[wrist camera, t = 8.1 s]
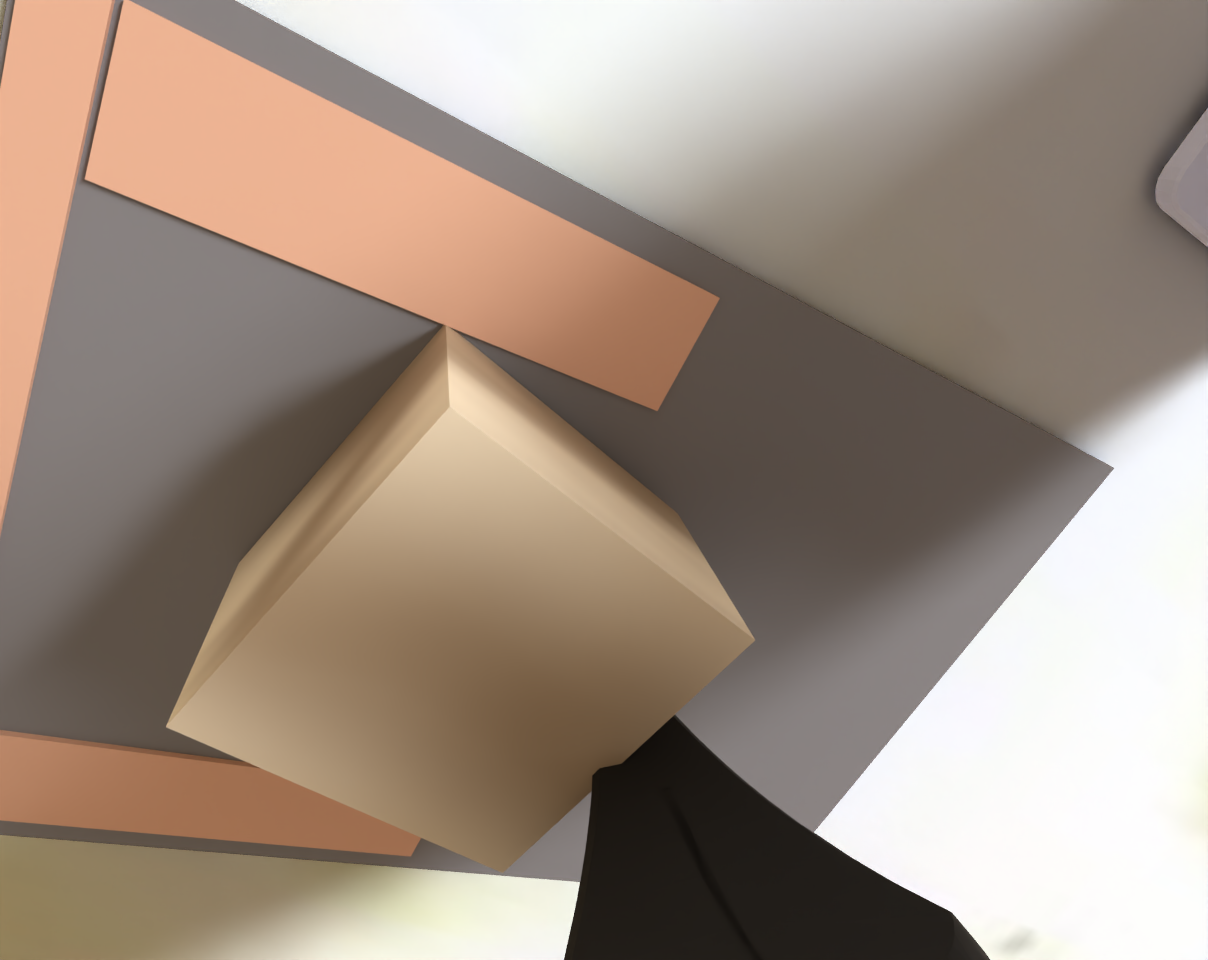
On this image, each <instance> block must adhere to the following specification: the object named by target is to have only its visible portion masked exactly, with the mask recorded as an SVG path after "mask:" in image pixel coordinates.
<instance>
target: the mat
mask: <svg viewBox="0 0 1208 960" xmlns="http://www.w3.org/2000/svg"><path fill="white" fill-rule="evenodd" d="M443 325H447V326H448V327H451V328H453V329H454V330H455V331H457V332H458V333H459V334H460V335H462V336H463V337H464V338H465V339H466V340H468V341H469V342H470V343H471V344H473V345H474V346H475V347H476V348H477V349H479V350H480V351H481V352H482V353H483V354H485V355H486V356H487V357H488V358H490V359H491V360H492V361H493V362H494V363H496V364H497V365H498V366H499V367H500V368H502V369H503V370H504V371H505V372H507V373H508V374H509V375H510V376H511V377H513V378H514V379H515V380H516V381H517V382H519V383H520V384H521V385H522V386H524V387H525V388H526V389H527V390H528V391H530V392H531V393H532V394H533V395H534V396H536V397H537V398H538V399H539V400H541V401H542V402H543V403H544V404H545V405H547V406H548V407H549V408H550V409H551V410H553V411H554V412H555V413H556V414H558V415H559V416H560V417H561V418H562V419H564V420H565V421H566V422H567V423H568V424H570V425H571V426H572V427H573V428H575V429H576V430H577V431H578V432H579V433H581V434H582V435H583V436H584V437H585V438H587V439H588V440H589V441H590V442H592V443H593V444H594V445H595V446H596V447H598V448H599V449H600V450H601V451H602V452H604V453H605V454H606V455H607V456H609V457H610V458H611V459H612V460H613V461H615V462H616V463H617V464H618V465H619V466H621V467H622V468H623V469H624V470H626V471H627V472H628V473H629V474H630V475H632V476H633V477H634V478H635V479H636V480H638V481H639V482H640V483H641V484H643V485H644V486H645V487H646V488H647V489H649V490H650V491H651V492H652V493H653V494H655V495H656V496H657V497H658V498H660V499H661V500H662V501H663V502H664V503H666V504H667V505H668V506H669V507H670V508H672V509H673V510H674V511H675V512H677V513H678V515H679V516H680V518H681V520H682V521H683V523H684V525H685V526H686V528H687V529H688V531H689V533H690V534H691V536H692V538H693V539H694V541H695V542H696V544H697V546H698V547H699V549H700V551H701V552H702V554H703V555H704V557H705V559H706V560H707V562H708V564H709V565H710V567H711V569H712V570H713V572H714V573H715V575H716V577H717V578H718V580H719V582H720V583H721V585H722V586H723V588H724V590H725V591H726V593H727V595H728V596H729V598H730V599H731V601H732V603H733V604H734V606H735V608H736V609H737V611H738V612H739V614H740V616H741V617H742V619H743V621H744V622H745V624H746V625H747V627H748V629H749V630H750V632H751V634H752V635H753V637H754V639H755V641H754V642H753V643H752V644H751V645H750V646H749V647H747V648H746V649H745V650H744V651H743V652H742V653H741V654H740V655H739V656H738V657H737V658H736V659H734V660H733V661H732V662H731V663H730V664H729V665H728V666H727V667H726V668H725V669H724V670H722V671H721V672H720V673H719V674H718V675H717V676H716V677H715V678H714V679H713V680H712V681H711V682H709V683H708V684H707V685H706V686H705V687H704V688H703V689H702V690H701V691H700V692H699V693H698V694H696V695H695V696H694V697H693V698H692V699H691V700H690V701H689V702H688V703H687V704H686V705H685V706H683V707H682V708H681V709H680V710H679V711H678V712H677V713H676V714H675V715H676V716H677V717H678V718H679V719H680V720H681V721H682V722H683V723H684V724H685V725H686V726H687V727H688V728H689V729H690V731H691V732H692V733H693V734H694V735H695V736H696V737H697V738H698V739H699V740H700V741H702V742H703V743H704V744H705V745H706V746H707V747H708V748H709V749H710V750H711V751H712V752H713V753H714V754H715V755H716V756H717V757H718V758H720V759H721V760H722V761H723V762H724V763H725V764H726V765H727V766H728V767H729V768H731V769H732V770H733V771H734V772H735V773H736V774H737V775H739V776H740V777H741V778H742V779H743V780H744V781H746V782H747V783H748V784H749V785H750V786H752V787H753V788H754V789H755V790H757V791H758V792H759V793H760V794H762V795H763V796H764V797H765V798H767V799H768V800H769V801H770V802H772V803H773V804H774V805H776V806H777V807H778V808H780V809H781V810H782V811H784V812H785V813H786V814H788V815H789V816H790V817H792V818H793V819H794V820H796V821H797V822H799V823H800V824H801V825H803V826H805V827H806V828H808V829H809V830H811V831H812V832H814V831H815V830H816V829H817V828H818V826H819V825H820V824H821V823H822V822H823V820H824V819H825V818H826V817H827V816H828V814H829V813H830V812H831V811H832V810H833V808H834V807H835V806H836V805H837V803H838V802H839V801H840V800H841V799H842V797H843V796H844V795H845V794H846V793H847V791H848V790H849V789H850V788H851V787H852V785H853V784H854V783H855V782H856V780H857V779H858V778H859V777H860V776H861V774H862V773H863V772H864V771H865V770H866V768H867V767H868V766H869V765H870V763H871V762H872V761H873V760H874V759H875V757H876V756H877V755H878V754H879V753H880V751H881V750H882V749H883V748H884V747H885V745H886V744H887V743H888V742H889V740H890V739H891V738H892V737H893V736H894V734H895V733H896V732H897V731H898V730H899V728H900V727H901V726H902V725H903V723H904V722H905V721H906V720H907V719H908V717H909V716H910V715H911V714H912V713H913V711H914V710H915V709H916V708H917V707H918V705H919V704H920V703H921V702H922V700H923V699H924V698H925V697H926V696H927V694H928V693H929V692H930V691H931V690H932V688H933V687H934V686H935V685H936V683H937V682H938V681H939V680H940V679H941V677H942V676H943V675H944V674H945V673H946V671H947V670H948V669H949V668H950V667H951V665H952V664H953V663H954V662H955V660H956V659H957V658H958V657H959V656H960V654H961V653H962V652H963V651H964V650H965V648H966V647H967V646H968V645H969V643H970V642H971V641H972V640H973V639H974V637H975V636H976V635H977V634H978V633H979V631H980V630H981V629H982V628H983V627H984V625H985V624H986V623H987V622H988V620H989V619H990V618H991V617H992V616H993V614H994V613H995V612H996V611H997V610H998V608H999V607H1000V606H1001V605H1002V603H1003V602H1004V601H1005V600H1006V599H1007V597H1008V596H1009V595H1010V594H1011V593H1012V591H1013V590H1014V589H1015V588H1016V587H1017V585H1018V584H1019V583H1020V582H1021V580H1022V579H1023V578H1024V577H1025V576H1026V574H1027V573H1028V572H1029V571H1030V570H1031V568H1032V567H1033V566H1034V565H1035V563H1036V562H1037V561H1038V560H1039V559H1040V557H1041V556H1042V555H1043V554H1044V553H1045V551H1046V550H1047V549H1048V548H1049V547H1050V545H1051V544H1052V543H1053V542H1054V540H1055V539H1056V538H1057V537H1058V536H1059V534H1060V533H1061V532H1062V531H1063V530H1064V528H1065V527H1066V526H1067V525H1068V524H1069V522H1070V521H1071V520H1072V519H1073V517H1074V516H1075V515H1076V514H1077V513H1078V511H1079V510H1080V509H1081V508H1082V507H1083V505H1084V504H1085V503H1086V502H1087V500H1088V499H1089V498H1090V497H1091V496H1092V494H1093V493H1094V492H1095V491H1096V490H1097V488H1098V487H1099V486H1100V485H1101V484H1102V482H1103V481H1104V480H1105V479H1106V477H1107V476H1108V475H1109V474H1110V473H1111V471H1112V470H1113V469H1114V468H1113V467H1111V466H1109V465H1108V464H1106V463H1104V462H1102V461H1100V460H1098V459H1096V458H1095V457H1093V456H1091V455H1089V454H1087V453H1085V452H1083V451H1081V450H1080V449H1078V448H1076V447H1074V446H1072V445H1070V444H1068V443H1066V442H1064V441H1063V440H1061V439H1059V438H1057V437H1055V436H1053V435H1051V434H1049V433H1048V432H1046V431H1044V430H1042V429H1040V428H1038V427H1036V426H1034V425H1032V424H1031V423H1029V422H1027V421H1025V420H1023V419H1021V418H1019V417H1017V416H1016V415H1014V414H1012V413H1010V412H1008V411H1006V410H1004V409H1002V408H1001V407H999V406H997V405H995V404H993V403H991V402H989V401H987V400H985V399H984V398H982V397H980V396H978V395H976V394H974V393H972V392H970V391H969V390H967V389H965V388H963V387H961V386H959V385H957V384H955V383H953V382H952V381H950V380H948V379H946V378H944V377H942V376H940V375H938V374H937V373H935V372H933V371H931V370H929V369H927V368H925V367H923V366H921V365H920V364H918V363H916V362H914V361H912V360H910V359H908V358H906V357H905V356H903V355H901V354H899V353H897V352H895V351H893V350H891V349H890V348H888V347H886V346H884V345H882V344H880V343H878V342H876V341H874V340H873V339H871V338H869V337H867V336H865V335H863V334H861V333H859V332H858V331H856V330H854V329H852V328H850V327H848V326H846V325H844V324H842V323H841V322H839V321H837V320H835V319H833V318H831V317H829V316H827V315H826V314H824V313H822V312H820V311H818V310H816V309H814V308H812V307H811V306H809V305H807V304H805V303H803V302H801V301H799V300H797V299H795V298H794V297H792V296H790V295H788V294H786V293H784V292H782V291H780V290H779V289H777V288H775V287H773V286H771V285H769V284H767V283H765V282H763V281H762V280H760V279H758V278H756V277H754V276H752V275H750V274H748V273H747V272H745V271H743V270H741V269H739V268H737V267H735V266H733V265H732V264H730V263H728V262H726V261H724V260H722V259H720V258H718V257H716V256H715V255H713V254H711V253H709V252H707V251H705V250H703V249H701V248H700V247H698V246H696V245H694V244H692V243H690V242H688V241H686V240H684V239H683V238H681V237H679V236H677V235H675V234H673V233H671V232H669V231H668V230H666V229H664V228H662V227H660V226H658V225H656V224H654V223H653V222H651V221H649V220H647V219H645V218H643V217H641V216H639V215H637V214H636V213H634V212H632V211H630V210H628V209H626V208H624V207H622V206H621V205H619V204H617V203H615V202H613V201H611V200H609V199H607V198H605V197H604V196H602V195H600V194H598V193H596V192H594V191H592V190H590V189H589V188H587V187H585V186H583V185H581V184H579V183H577V182H575V181H573V180H572V179H570V178H568V177H566V176H564V175H562V174H560V173H558V172H557V171H555V170H553V169H551V168H549V167H547V166H545V165H543V164H542V163H540V162H538V161H536V160H534V159H532V158H530V157H528V156H526V155H525V154H523V153H521V152H519V151H517V150H515V149H513V148H511V147H510V146H508V145H506V144H504V143H502V142H500V141H498V140H496V139H494V138H493V137H491V136H489V135H487V134H485V133H483V132H481V131H479V130H478V129H476V128H474V127H472V126H470V125H468V124H466V123H464V122H463V121H461V120H459V119H457V118H455V117H453V116H451V115H449V114H447V113H446V112H444V111H442V110H440V109H438V108H436V107H434V106H432V105H431V104H429V103H427V102H425V101H423V100H421V99H419V98H417V97H415V96H414V95H412V94H410V93H408V92H406V91H404V90H402V89H400V88H399V87H397V86H395V85H393V84H391V83H389V82H387V81H385V80H384V79H382V78H380V77H378V76H376V75H374V74H372V73H370V72H368V71H367V70H365V69H363V68H361V67H359V66H357V65H355V64H353V63H352V62H350V61H348V60H346V59H344V58H342V57H340V56H338V55H336V54H335V53H333V52H331V51H329V50H327V49H325V48H323V47H321V46H320V45H318V44H316V43H314V42H312V41H310V40H308V39H306V38H305V37H303V36H301V35H299V34H297V33H295V32H293V31H291V30H289V29H288V28H286V27H284V26H282V25H280V24H278V23H276V22H274V21H273V20H271V19H269V18H267V17H265V16H263V15H261V14H259V13H257V12H256V11H254V10H252V9H250V8H248V7H246V6H244V5H242V4H241V3H239V2H237V1H235V0H7V4H6V10H5V16H4V22H3V28H2V34H1V40H0V835H10V836H22V837H34V838H47V839H59V840H71V841H84V842H96V843H108V844H120V845H133V846H145V847H157V848H170V849H182V850H194V851H207V852H219V853H231V854H243V855H256V856H268V857H280V858H293V859H305V860H317V861H330V862H342V863H354V864H366V865H379V866H391V867H403V868H416V869H428V870H440V871H453V872H465V873H477V874H489V875H502V876H514V877H526V878H539V879H551V880H563V881H576V882H580V880H581V874H582V867H583V861H584V855H585V848H586V841H587V833H588V825H589V815H590V805H591V793H592V791H591V792H590V793H589V794H588V795H587V796H586V797H585V798H584V799H583V800H581V801H580V802H579V803H578V804H577V805H576V806H575V807H574V808H573V809H572V810H571V811H570V812H568V813H567V814H566V815H565V816H564V817H563V818H562V819H561V820H560V821H559V822H558V823H557V824H555V825H554V826H553V827H552V828H551V829H550V830H549V831H548V832H547V833H546V834H545V835H544V836H542V837H541V838H540V839H539V840H538V841H537V842H536V843H535V844H534V845H533V846H532V847H530V848H529V849H528V850H527V851H526V852H525V853H524V854H523V855H522V856H521V857H520V858H519V859H517V860H516V861H515V862H514V863H513V864H512V865H511V866H510V867H509V868H508V869H507V870H506V871H504V872H503V873H501V872H499V871H497V870H494V869H492V868H490V867H487V866H485V865H483V864H480V863H478V862H476V861H474V860H471V859H469V858H467V857H464V856H462V855H460V854H457V853H455V852H453V851H450V850H448V849H446V848H444V847H441V846H439V845H437V844H434V843H432V842H430V841H427V840H425V839H423V838H421V837H418V836H416V835H414V834H411V833H409V832H407V831H404V830H402V829H400V828H397V827H395V826H393V825H391V824H388V823H386V822H384V821H381V820H379V819H377V818H374V817H372V816H370V815H367V814H365V813H363V812H361V811H358V810H356V809H354V808H351V807H349V806H347V805H344V804H342V803H340V802H338V801H335V800H333V799H331V798H328V797H326V796H324V795H321V794H319V793H317V792H314V791H312V790H310V789H308V788H305V787H303V786H301V785H298V784H296V783H294V782H291V781H289V780H287V779H284V778H282V777H280V776H278V775H275V774H273V773H271V772H268V771H266V770H264V769H261V768H259V767H257V766H254V765H252V764H250V763H248V762H245V761H243V760H241V759H238V758H236V757H234V756H231V755H229V754H227V753H225V752H222V751H220V750H218V749H215V748H213V747H211V746H208V745H206V744H204V743H201V742H199V741H197V740H195V739H192V738H190V737H188V736H185V735H183V734H181V733H178V732H176V731H174V730H171V729H169V728H167V727H166V725H167V723H168V721H169V718H170V716H171V714H172V712H173V709H174V707H175V705H176V703H177V700H178V698H179V696H180V694H181V691H182V689H183V687H184V685H185V683H186V680H187V678H188V676H189V674H190V671H191V669H192V667H193V665H194V662H195V660H196V658H197V656H198V653H199V651H200V649H201V647H202V644H203V642H204V640H205V638H206V635H207V633H208V631H209V629H210V626H211V624H212V622H213V620H214V617H215V615H216V613H217V611H218V608H219V606H220V604H221V602H222V599H223V597H224V595H225V593H226V590H227V588H228V586H229V584H230V581H231V579H232V577H233V575H234V573H235V570H236V568H237V566H238V564H239V562H240V561H241V560H242V559H243V558H244V556H245V555H246V554H247V553H248V552H249V551H250V549H251V548H252V547H253V546H254V545H255V544H256V542H257V541H258V540H259V539H260V538H261V537H262V535H263V534H264V533H265V532H266V531H267V530H268V529H269V527H270V526H271V525H272V524H273V523H274V522H275V520H276V519H277V518H278V517H279V516H280V515H281V513H282V512H283V511H284V510H285V509H286V508H287V506H288V505H289V504H290V503H291V502H292V501H293V499H294V498H295V497H296V496H297V495H298V494H299V492H300V491H301V490H302V489H303V488H304V487H305V485H306V484H307V483H308V482H309V481H310V480H311V478H312V477H313V476H314V475H315V474H316V473H317V472H318V470H319V469H320V468H321V467H322V466H323V465H324V463H325V462H326V461H327V460H328V459H329V458H330V456H331V455H332V454H333V453H334V452H335V451H336V449H337V448H338V447H339V446H340V445H341V444H342V442H343V441H344V440H345V439H346V438H347V437H348V435H349V434H350V433H351V432H352V431H353V430H354V428H355V427H356V426H357V425H358V424H359V423H360V421H361V420H362V419H363V418H364V417H365V416H366V415H367V413H368V412H369V411H370V410H371V409H372V408H373V406H374V405H375V404H376V403H377V402H378V401H379V399H380V398H381V397H382V396H383V395H384V394H385V392H386V391H387V390H388V389H389V388H390V387H391V386H392V384H393V383H394V382H395V381H396V380H397V379H398V377H399V376H400V375H401V374H402V373H403V372H404V370H405V369H406V368H407V367H408V366H409V365H410V364H411V362H412V361H413V360H414V359H415V358H416V357H417V355H418V354H419V353H420V352H421V351H422V350H423V348H424V347H425V346H426V345H427V344H428V343H429V342H430V340H431V339H432V338H433V337H434V336H435V335H436V333H437V332H438V331H439V330H440V329H441V328H442V326H443Z"/></svg>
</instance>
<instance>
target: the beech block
mask: <svg viewBox="0 0 1208 960" xmlns="http://www.w3.org/2000/svg"><path fill="white" fill-rule="evenodd" d="M754 641H755V639H754V637H753V635H752V634H751V632H750V630H749V629H748V627H747V625H746V624H745V622H744V621H743V619H742V617H741V616H740V614H739V612H738V611H737V609H736V608H735V606H734V604H733V603H732V601H731V599H730V598H729V596H728V595H727V593H726V591H725V590H724V588H723V586H722V585H721V583H720V582H719V580H718V578H717V577H716V575H715V573H714V572H713V570H712V569H711V567H710V565H709V564H708V562H707V560H706V559H705V557H704V555H703V554H702V552H701V551H700V549H699V547H698V546H697V544H696V542H695V541H694V539H693V538H692V536H691V534H690V533H689V531H688V529H687V528H686V526H685V525H684V523H683V521H682V520H681V518H680V516H679V515H678V513H677V512H675V511H674V510H673V509H672V508H670V507H669V506H668V505H667V504H666V503H664V502H663V501H662V500H661V499H660V498H658V497H657V496H656V495H655V494H653V493H652V492H651V491H650V490H649V489H647V488H646V487H645V486H644V485H643V484H641V483H640V482H639V481H638V480H636V479H635V478H634V477H633V476H632V475H630V474H629V473H628V472H627V471H626V470H624V469H623V468H622V467H621V466H619V465H618V464H617V463H616V462H615V461H613V460H612V459H611V458H610V457H609V456H607V455H606V454H605V453H604V452H602V451H601V450H600V449H599V448H598V447H596V446H595V445H594V444H593V443H592V442H590V441H589V440H588V439H587V438H585V437H584V436H583V435H582V434H581V433H579V432H578V431H577V430H576V429H575V428H573V427H572V426H571V425H570V424H568V423H567V422H566V421H565V420H564V419H562V418H561V417H560V416H559V415H558V414H556V413H555V412H554V411H553V410H551V409H550V408H549V407H548V406H547V405H545V404H544V403H543V402H542V401H541V400H539V399H538V398H537V397H536V396H534V395H533V394H532V393H531V392H530V391H528V390H527V389H526V388H525V387H524V386H522V385H521V384H520V383H519V382H517V381H516V380H515V379H514V378H513V377H511V376H510V375H509V374H508V373H507V372H505V371H504V370H503V369H502V368H500V367H499V366H498V365H497V364H496V363H494V362H493V361H492V360H491V359H490V358H488V357H487V356H486V355H485V354H483V353H482V352H481V351H480V350H479V349H477V348H476V347H475V346H474V345H473V344H471V343H470V342H469V341H468V340H466V339H465V338H464V337H463V336H462V335H460V334H459V333H458V332H457V331H455V330H454V329H453V328H451V327H448V326H447V325H443V326H442V328H441V329H440V330H439V331H438V332H437V333H436V335H435V336H434V337H433V338H432V339H431V340H430V342H429V343H428V344H427V345H426V346H425V347H424V348H423V350H422V351H421V352H420V353H419V354H418V355H417V357H416V358H415V359H414V360H413V361H412V362H411V364H410V365H409V366H408V367H407V368H406V369H405V370H404V372H403V373H402V374H401V375H400V376H399V377H398V379H397V380H396V381H395V382H394V383H393V384H392V386H391V387H390V388H389V389H388V390H387V391H386V392H385V394H384V395H383V396H382V397H381V398H380V399H379V401H378V402H377V403H376V404H375V405H374V406H373V408H372V409H371V410H370V411H369V412H368V413H367V415H366V416H365V417H364V418H363V419H362V420H361V421H360V423H359V424H358V425H357V426H356V427H355V428H354V430H353V431H352V432H351V433H350V434H349V435H348V437H347V438H346V439H345V440H344V441H343V442H342V444H341V445H340V446H339V447H338V448H337V449H336V451H335V452H334V453H333V454H332V455H331V456H330V458H329V459H328V460H327V461H326V462H325V463H324V465H323V466H322V467H321V468H320V469H319V470H318V472H317V473H316V474H315V475H314V476H313V477H312V478H311V480H310V481H309V482H308V483H307V484H306V485H305V487H304V488H303V489H302V490H301V491H300V492H299V494H298V495H297V496H296V497H295V498H294V499H293V501H292V502H291V503H290V504H289V505H288V506H287V508H286V509H285V510H284V511H283V512H282V513H281V515H280V516H279V517H278V518H277V519H276V520H275V522H274V523H273V524H272V525H271V526H270V527H269V529H268V530H267V531H266V532H265V533H264V534H263V535H262V537H261V538H260V539H259V540H258V541H257V542H256V544H255V545H254V546H253V547H252V548H251V549H250V551H249V552H248V553H247V554H246V555H245V556H244V558H243V559H242V560H241V561H240V562H239V564H238V566H237V568H236V570H235V573H234V575H233V577H232V579H231V581H230V584H229V586H228V588H227V590H226V593H225V595H224V597H223V599H222V602H221V604H220V606H219V608H218V611H217V613H216V615H215V617H214V620H213V622H212V624H211V626H210V629H209V631H208V633H207V635H206V638H205V640H204V642H203V644H202V647H201V649H200V651H199V653H198V656H197V658H196V660H195V662H194V665H193V667H192V669H191V671H190V674H189V676H188V678H187V680H186V683H185V685H184V687H183V689H182V691H181V694H180V696H179V698H178V700H177V703H176V705H175V707H174V709H173V712H172V714H171V716H170V718H169V721H168V723H167V725H166V727H167V728H169V729H171V730H174V731H176V732H178V733H181V734H183V735H185V736H188V737H190V738H192V739H195V740H197V741H199V742H201V743H204V744H206V745H208V746H211V747H213V748H215V749H218V750H220V751H222V752H225V753H227V754H229V755H231V756H234V757H236V758H238V759H241V760H243V761H245V762H248V763H250V764H252V765H254V766H257V767H259V768H261V769H264V770H266V771H268V772H271V773H273V774H275V775H278V776H280V777H282V778H284V779H287V780H289V781H291V782H294V783H296V784H298V785H301V786H303V787H305V788H308V789H310V790H312V791H314V792H317V793H319V794H321V795H324V796H326V797H328V798H331V799H333V800H335V801H338V802H340V803H342V804H344V805H347V806H349V807H351V808H354V809H356V810H358V811H361V812H363V813H365V814H367V815H370V816H372V817H374V818H377V819H379V820H381V821H384V822H386V823H388V824H391V825H393V826H395V827H397V828H400V829H402V830H404V831H407V832H409V833H411V834H414V835H416V836H418V837H421V838H423V839H425V840H427V841H430V842H432V843H434V844H437V845H439V846H441V847H444V848H446V849H448V850H450V851H453V852H455V853H457V854H460V855H462V856H464V857H467V858H469V859H471V860H474V861H476V862H478V863H480V864H483V865H485V866H487V867H490V868H492V869H494V870H497V871H499V872H501V873H503V872H504V871H506V870H507V869H508V868H509V867H510V866H511V865H512V864H513V863H514V862H515V861H516V860H517V859H519V858H520V857H521V856H522V855H523V854H524V853H525V852H526V851H527V850H528V849H529V848H530V847H532V846H533V845H534V844H535V843H536V842H537V841H538V840H539V839H540V838H541V837H542V836H544V835H545V834H546V833H547V832H548V831H549V830H550V829H551V828H552V827H553V826H554V825H555V824H557V823H558V822H559V821H560V820H561V819H562V818H563V817H564V816H565V815H566V814H567V813H568V812H570V811H571V810H572V809H573V808H574V807H575V806H576V805H577V804H578V803H579V802H580V801H581V800H583V799H584V798H585V797H586V796H587V795H588V794H589V793H590V792H591V791H592V775H593V774H594V773H595V772H596V771H597V770H598V769H599V768H603V767H608V766H612V765H617V764H622V763H623V762H624V761H625V760H626V759H627V758H628V757H629V756H630V755H631V754H632V753H634V752H635V751H636V750H637V749H638V748H639V747H640V746H641V745H642V744H643V743H644V742H645V741H647V740H648V739H649V738H650V737H651V736H652V735H653V734H654V733H655V732H656V731H657V730H658V729H660V728H661V727H662V726H663V725H664V724H665V723H666V722H667V721H668V720H669V719H670V718H672V717H673V716H674V715H675V714H676V713H677V712H678V711H679V710H680V709H681V708H682V707H683V706H685V705H686V704H687V703H688V702H689V701H690V700H691V699H692V698H693V697H694V696H695V695H696V694H698V693H699V692H700V691H701V690H702V689H703V688H704V687H705V686H706V685H707V684H708V683H709V682H711V681H712V680H713V679H714V678H715V677H716V676H717V675H718V674H719V673H720V672H721V671H722V670H724V669H725V668H726V667H727V666H728V665H729V664H730V663H731V662H732V661H733V660H734V659H736V658H737V657H738V656H739V655H740V654H741V653H742V652H743V651H744V650H745V649H746V648H747V647H749V646H750V645H751V644H752V643H753V642H754Z"/></svg>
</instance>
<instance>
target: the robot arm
mask: <svg viewBox="0 0 1208 960" xmlns="http://www.w3.org/2000/svg"><path fill="white" fill-rule="evenodd" d="M1155 195H1156V202H1157V204H1158V205H1159V207H1160V208H1161V209H1162V210H1163V211H1164V212H1165V213H1167V214H1168V215H1169V216H1170V217H1171V218H1173V219H1174V220H1175V221H1176V222H1177V223H1179V224H1180V225H1181V226H1182V227H1184V228H1185V229H1186V230H1187V231H1188V232H1190V233H1191V234H1192V235H1193V236H1194V237H1196V238H1197V239H1198V240H1199V241H1200V242H1202V243H1203V244H1204V245H1205V246H1207V247H1208V108H1207V109H1206V111H1205V112H1204V113H1203V115H1202V116H1201V117H1200V119H1199V120H1198V122H1197V123H1196V124H1195V126H1194V127H1193V128H1192V130H1191V131H1190V132H1189V134H1188V135H1187V137H1186V138H1185V139H1184V141H1183V142H1182V143H1181V145H1180V146H1179V148H1178V149H1177V150H1176V152H1175V153H1174V154H1173V156H1172V157H1171V158H1170V160H1169V161H1168V163H1167V164H1166V165H1165V167H1164V168H1163V170H1162V172H1161V174H1160V176H1159V177H1158V181H1157V184H1156V188H1155ZM564 960H990V959H989V957H988V956H987V955H986V953H985V952H984V951H983V950H982V948H981V947H980V946H979V945H978V943H977V942H976V941H975V940H974V938H973V937H972V936H971V935H970V934H969V932H968V931H967V930H966V929H965V928H964V926H963V925H962V924H961V923H960V922H959V920H958V919H957V918H956V917H955V916H954V915H953V913H952V912H950V911H948V910H946V909H944V908H942V907H940V906H938V905H936V904H934V903H932V902H930V901H929V900H927V899H925V898H923V897H921V896H919V895H917V894H915V893H913V892H911V891H909V890H907V889H905V888H903V887H901V886H899V885H898V884H896V883H894V882H892V881H890V880H889V879H887V878H885V877H883V876H882V875H880V874H878V873H877V872H875V871H873V870H872V869H870V868H868V867H866V866H865V865H863V864H861V863H860V862H858V861H856V860H855V859H853V858H851V857H850V856H848V855H847V854H845V853H844V852H842V851H841V850H839V849H838V848H836V847H835V846H833V845H832V844H830V843H829V842H827V841H826V840H824V839H823V838H821V837H820V836H818V835H817V834H815V833H814V832H812V831H811V830H809V829H808V828H806V827H805V826H803V825H801V824H800V823H799V822H797V821H796V820H794V819H793V818H792V817H790V816H789V815H788V814H786V813H785V812H784V811H782V810H781V809H780V808H778V807H777V806H776V805H774V804H773V803H772V802H770V801H769V800H768V799H767V798H765V797H764V796H763V795H762V794H760V793H759V792H758V791H757V790H755V789H754V788H753V787H752V786H750V785H749V784H748V783H747V782H746V781H744V780H743V779H742V778H741V777H740V776H739V775H737V774H736V773H735V772H734V771H733V770H732V769H731V768H729V767H728V766H727V765H726V764H725V763H724V762H723V761H722V760H721V759H720V758H718V757H717V756H716V755H715V754H714V753H713V752H712V751H711V750H710V749H709V748H708V747H707V746H706V745H705V744H704V743H703V742H702V741H700V740H699V739H698V738H697V737H696V736H695V735H694V734H693V733H692V732H691V731H690V729H689V728H688V727H687V726H686V725H685V724H684V723H683V722H682V721H681V720H680V719H679V718H678V717H677V716H676V715H674V716H673V717H672V718H670V719H669V720H668V721H667V722H666V723H665V724H664V725H663V726H662V727H661V728H660V729H658V730H657V731H656V732H655V733H654V734H653V735H652V736H651V737H650V738H649V739H648V740H647V741H645V742H644V743H643V744H642V745H641V746H640V747H639V748H638V749H637V750H636V751H635V752H634V753H632V754H631V755H630V756H629V757H628V758H627V759H626V760H625V761H624V762H623V763H622V764H617V765H612V766H608V767H603V768H599V769H598V770H597V771H596V772H595V773H594V774H593V775H592V793H591V805H590V815H589V825H588V833H587V841H586V848H585V855H584V861H583V867H582V874H581V880H580V886H579V892H578V897H577V902H576V908H575V912H574V917H573V922H572V926H571V931H570V935H569V940H568V944H567V949H566V953H565V958H564Z"/></svg>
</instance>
